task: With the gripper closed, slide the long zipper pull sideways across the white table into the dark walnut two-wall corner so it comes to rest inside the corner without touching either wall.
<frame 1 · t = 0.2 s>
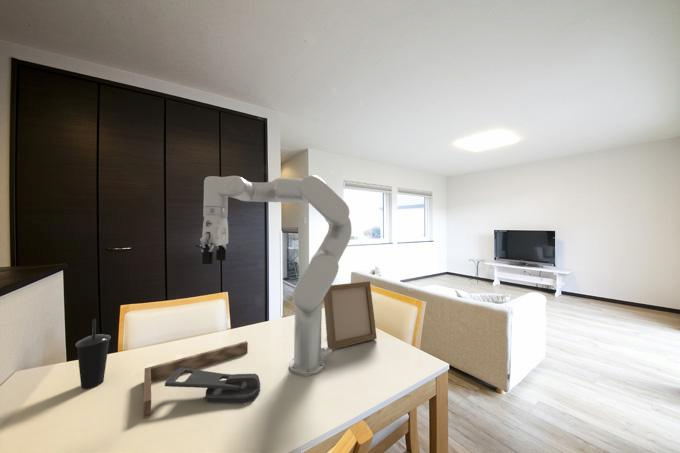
hand: (214, 262, 85), 37 cm above the table, tool pointing down, fingers open, 9 cm apart
zipper pull: (215, 396, 71), on the table
wooden l-shaped bracket: (208, 376, 80), on the table
drinking cup: (92, 385, 75), on the table
photo frame: (346, 339, 108), on the table
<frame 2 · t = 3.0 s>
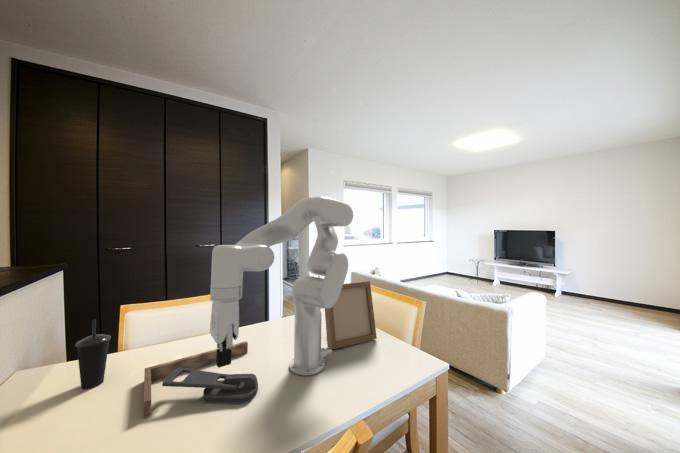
hand: (223, 364, 63), 14 cm above the table, tool pointing down, fingers closed
nothing on the table moved.
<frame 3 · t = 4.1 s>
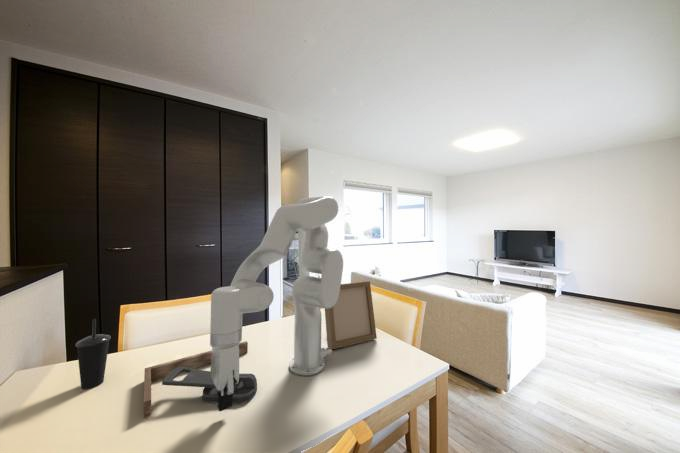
hand: (225, 407, 63), 2 cm above the table, tool pointing down, fingers closed
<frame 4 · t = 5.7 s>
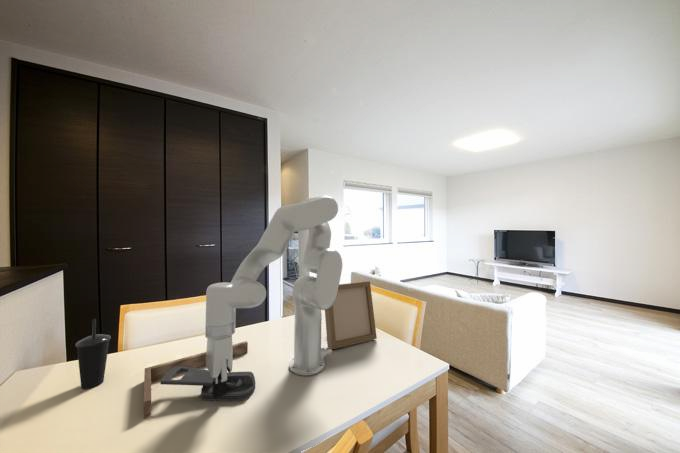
hand: (219, 394, 68), 2 cm above the table, tool pointing down, fingers closed
zipper pull: (210, 393, 72), on the table, touching gripper
everything else where it was.
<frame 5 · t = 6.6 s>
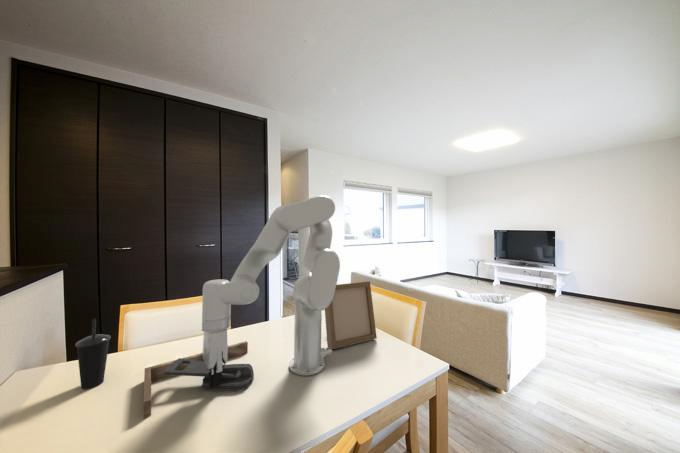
hand: (215, 385, 72), 2 cm above the table, tool pointing down, fingers closed
zipper pull: (211, 384, 76), on the table, touching gripper
everything else where it was.
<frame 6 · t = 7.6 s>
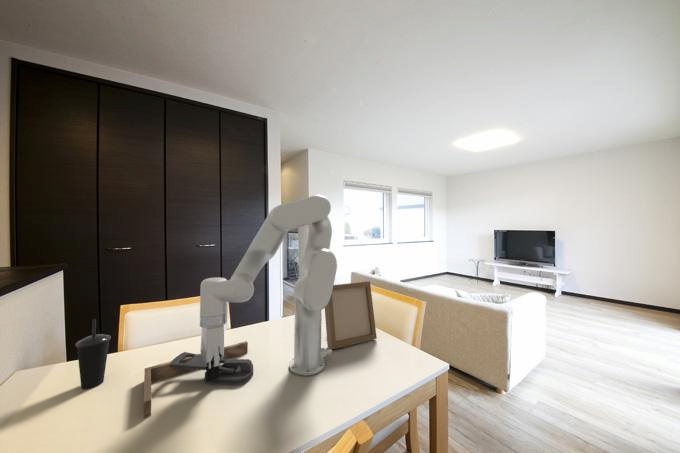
hand: (212, 378, 75), 2 cm above the table, tool pointing down, fingers closed
zipper pull: (213, 378, 79), on the table, touching gripper
everything else where it was.
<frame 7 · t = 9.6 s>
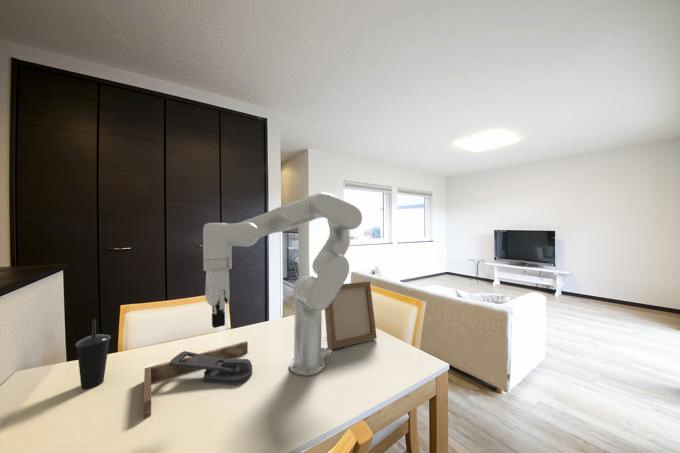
hand: (218, 325, 72), 20 cm above the table, tool pointing down, fingers closed
zipper pull: (212, 377, 80), on the table
everything else where it was.
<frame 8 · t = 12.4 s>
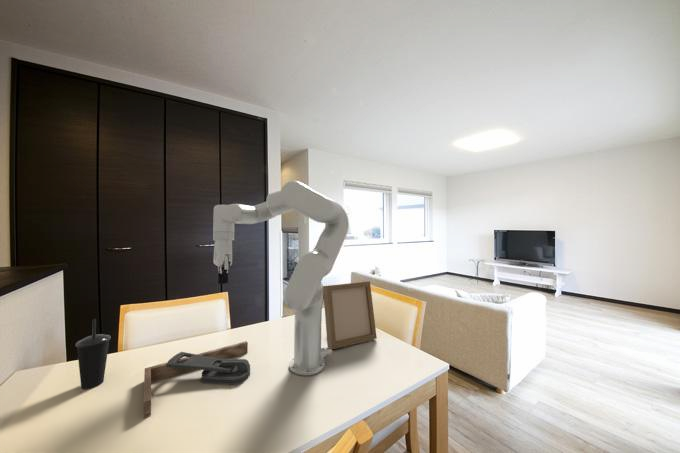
hand: (222, 283, 95), 27 cm above the table, tool pointing down, fingers closed
nothing on the table moved.
at the end: zipper pull inside the target area on the wooden l-shaped bracket (0.5 cm from its centre), point 0.0 cm above the wooden l-shaped bracket's base; zipper pull touching table; zipper pull moved 10.5 cm from its start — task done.
